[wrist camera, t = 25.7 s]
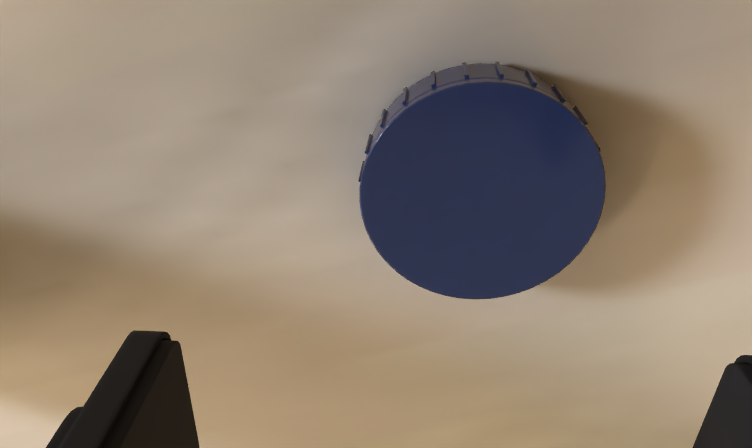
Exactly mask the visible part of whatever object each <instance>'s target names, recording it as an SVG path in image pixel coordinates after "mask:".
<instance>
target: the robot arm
mask: <svg viewBox="0 0 752 448" xmlns="http://www.w3.org/2000/svg"><path fill="white" fill-rule="evenodd" d="M46 448H199V442H198V436H197V431H196V426H195V420H194V415H193V409H192V404H191V399H190V393H189V388H188V383H187V377H186V372H185V367H184V361H183V356H182V351H181V346H180V343H179V342H178V341H171V338H170V335H169V334H168V333H167V332H157V331H132V332H131V333H130V334H129V335H128V336H127V338H126V340H125V341H124V343H123V344H122V346H121V348H120V349H119V351H118V352H117V354H116V355H115V357H114V359H113V360H112V362H111V363H110V365H109V367H108V368H107V370H106V371H105V373H104V375H103V376H102V378H101V379H100V381H99V383H98V384H97V386H96V387H95V389H94V391H93V392H92V394H91V395H90V397H89V399H88V400H87V402H86V403H85V405H84V406H83V407H77V408H75V409H74V410H72V411H71V412H70V413H69V414H68V415H67V417H66V418H65V419H64V421H63V422H62V424H61V425H60V427H59V428H58V430H57V431H56V433H55V434H54V436H53V438H52V439H51V441H50V442H49V444H48V445H47V447H46ZM693 448H752V355H743V356H740V357H738V358H737V359H736V361H735V363H732V364H729V365H727V367H726V368H725V370H724V373H723V375H722V378H721V380H720V382H719V385H718V387H717V390H716V392H715V395H714V397H713V399H712V402H711V404H710V407H709V409H708V412H707V414H706V416H705V419H704V421H703V424H702V426H701V429H700V431H699V433H698V436H697V438H696V441H695V443H694V446H693Z"/></svg>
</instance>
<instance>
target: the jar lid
mask: <svg viewBox="0 0 752 448" xmlns="http://www.w3.org/2000/svg"><path fill="white" fill-rule="evenodd" d="M587 124H588V123H587V122H586V120H585V119H584V117H583V116H582V114H581V113H580V112H579V110H578V109H577V107H576V106H574V107H572V106H571V104H570V103H569V102H568V101H567V100H566V98H565V97H564V96H563V95H562V93H561V92H560V90H559V89H558V87H557V86H556V85H555V84H554V85H553V86H551V85H550V84H548V83H547V82H545V81H544V80H542V79H541V78H539V77H537V76H535V75H533V74H532V73H531V71H530V70H528V69H527V70H526V71H523V70H520V69H517V68H514V67H509V66H504V65H500V63H499V62H495V64H469V65H467V64H466V62H465V63H462V66H457V67H452V68H448V69H445V70H442V71H440V72H437V73H435V72H434V71H433V72H431V75H430V76H428V77H426V78H424V79H422V80H420V81H418V82H417V83H416V84H414V85H413V86H411V87H410V88H407V87H406V88H404V90H403V93H402V94H401V95H400V96H399V97H398V98H397V99H396V100H395V101H394V102H393V103H392V104H391V105H390V106H389V108H388V109H387V110H386V109H384V110H383V111H382V116H381V119H380V120H379V122H378V124H377V126H376V128H375V130H374V132H373V134H372V135H371V134H370V135H369V138H368V142H367V146H366V150H365V154H366V159H365V161H363V164H362V168H361V172H360V176H359V182H361V183H360V208H361V215H362V219H363V222H364V226H365V229H366V231H367V233H368V235H369V238H370V240H371V242H372V243H373V245H374V246H375V248H376V250H377V251H378V253H379V254H380V255H381V256H382V257H383V259H384V260H385V261H386V262H387V263H388V264H389V265H390V266H391V267H392V268H393V269H394V270H395V271H396V272H398V273H399V274H400V275H402V276H403V277H404V278H406V279H407V280H409V281H411V282H413V283H414V284H416V285H418V286H420V287H422V288H424V289H427V290H429V291H432V292H435V293H438V294H442V295H445V296H450V297H456V298H464V299H491V298H498V297H504V296H508V295H512V294H516V293H520V292H522V291H525V290H528V289H530V288H533V287H535V286H537V285H539V284H541V283H543V282H545V281H547V280H548V279H550V278H551V277H553V276H554V275H556V274H557V273H559V272H560V271H561V270H562V269H564V268H565V267H566V266H567V265H569V264H570V263H571V262H572V261H573V260H574V258H575V257H576V256H577V255H578V254H579V253H580V252H581V251H582V249H583V248H584V247H585V245H586V244H587V243H588V241H589V239H590V238H591V236H592V234H593V232H594V231H595V229H596V226H597V224H598V221H599V219H600V216H601V213H602V208H603V204H604V199H605V188H606V185H605V171H604V166H603V162H602V157H601V155H600V148H599V146H598V145H597V144H596V142H595V141H594V139H593V137H592V136H591V134H590V132H589V130H588V129H587V127H586V126H585V125H587Z"/></svg>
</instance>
